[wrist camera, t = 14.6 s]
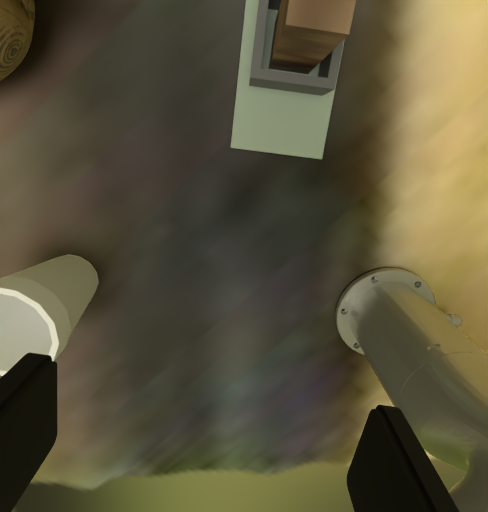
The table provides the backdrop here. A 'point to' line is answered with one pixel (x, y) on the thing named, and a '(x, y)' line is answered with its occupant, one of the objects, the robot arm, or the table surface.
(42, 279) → the foam cup
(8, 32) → the brown round bowl
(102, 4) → the table surface
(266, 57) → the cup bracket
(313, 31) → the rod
